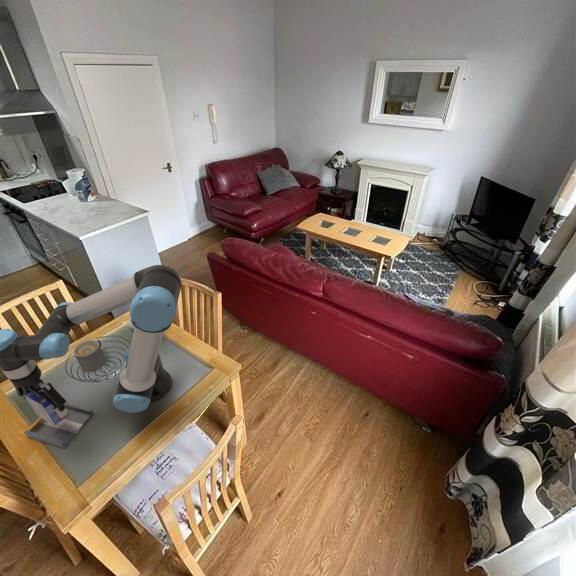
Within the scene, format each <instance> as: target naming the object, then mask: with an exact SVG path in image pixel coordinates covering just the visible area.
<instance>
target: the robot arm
mask: <svg viewBox="0 0 576 576" xmlns="http://www.w3.org/2000/svg"><path fill="white" fill-rule="evenodd" d="M182 284H183V283H182V279H181V276H180V274H179V273H178V272H177V270H176V269H174V268H172V267H171V266H168V265H167V264H156V265H151V266H148V267H144V268H142V269H140V270H138V271H136V272H135V273H133V276H132V277H130V278H127V279H125V280H123V281H120V282H118V283H116V284H114V285H112V286H109V287H106V288H104V289H102V290H100V291H97V292H96V293H93V294H91V295H89V296H86V297H83V298H81V299H78V300H77V301H75V302H71V301H68V302H66V301H63V302H61V303H59V304H58V305H57V306H56V307H54V309H53V310H52V311H51V313H50V315H49V316H48V317H47V318H46V320H45V321H44V323H43V324H42V325H41V327H40V328H39V329H38V330H37V332H36V333H35V334H29V335H19V334H18V333H17V332H16V331H15V330H13V329H10V328H1V329H0V370H1V371H2V373H3V374H4V375H5V376H6V379H7V378H8V380H9V381H10V383H11V384H12V386H13V387H14V388H15V390H16V393H17V395H18V396H19V397H22V398H23V399H25V400H27V399H26V397H25V396H24V395H25V394H26V395H27V394H28V393H29V392H30V391H33V392H34V393H35V394H36V395H38V396H39V395H41V396H42V397H43V398H44V399H46V400H47V401H48V402H49V403H51V404H52V405H53V409H54V410H55V411H56V413H57V414H58V416H59V417H60V418H63V417H64V416H65V415H66V414H67V412H68V411H67V409H66V408H65V406H64V405H63V404H64V403H65V402H67V400H66V399H65V398H64V397H63V396H62V395H61V394H60V392H58V391H57V390H56V388H55V387H54V386H53V385H52V382H51V383H50V382H47V383H45V382H44V381H43V379H41V376H42V370H41V369H40V367H39V365H38V364H37V363H36V362H35V361H38V360H39V361H40V360H52V359H56V358H58V359H59V358H63V357H64V356H66V355H67V354H68V352H69V349H70V348H69V347H70V344H71V343H70V342H71V341H70V339H69V337H68V335H69V333H70V332H71V330H72V329H73V328H75V327H77V326H79V325H82V324H83V323H86V322H89V321H91V320H93V319H96V318H98V317H101V316H103V315H105V314H107V313H108V314H109V313H111V312H113V311H115V310H117V309H120V308H122V307H125V306H128V305H129V304H130V306H129V315H130V317H131V323H132V324H133V326H134V327H135V328H134V333H132V339H131V343H130V346H129V347H128V348H127V349H126V350H125V352H124V354H123V358H124V361H125V362H126V363H125V367H124V368H123V369H122V370H121V373H120V375H119V378H118V383H117V387H116V391H115V394H114V395H113V400H112V405H113V406H114V408H116V409H117V410H119V411H121V412H124V413H140V412H143V411H145V410H147V409H148V408H149V405H150V403H153V402H156V401H159V400H161V399H163V398H164V397H165V396H166V395H168V393H169V392H170V390H171V388H172V386H173V380H172V379H173V378H172V376H171V374H170V373H169V372H168V371H167V370H166V369H165V368H164V366H163V362H162V358H161V355H160V353H159V352H160V348H161V344H162V342H163V338H164V334H165V332H166V331H168V330H170V328H171V326H172V324H173V320H174V318H175V317H176V313H177V307H178V304H179V303H178V302H179V298H180V295H181V290H182V286H183V285H182ZM130 317H129V318H130ZM41 389H42V390H41ZM40 390H41V391H40ZM38 391H40V392H38ZM27 402H28V400H27Z"/></svg>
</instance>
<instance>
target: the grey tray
mask: <svg viewBox="0 0 576 576" xmlns="http://www.w3.org/2000/svg"><path fill="white" fill-rule="evenodd" d="M63 405H64V406H65V408H66V409H67V411H68V413H69V415H68V416H67V417H66V418H64V419H63V420H62V421H61V422H59V423H58V424H57V425H56V426H55V425H53V424H51V423H50V422H48V421H46V420H44V419H43V418H41V417H39V416H38V418H37V419H36V420H35V421H34V422H33V423H32V424H31V425H30V426H29V427H28V428H27V429H26V430H25V431H24V432H23V433H24V435H25V436H26V437H27V438H29V439H32V440H37V441H39V442H41V443H42V442H43V443H45V444H49V445H52V446H55V447H58V448H62V449H65V448H66V447H67V446H68V445H69V444H70V443H71V441H72V440H73V439H74V438H75V437H76V435H77V434H78V433H79V432H80V431H81V430H82V428H83V427H84V426H85V425H86V424H87V422H89V420H91V418H92V417H93V416H94V414H95V413H94V411H93V410H92V409H91V408H87V407H85V406H81V405H77V404H74V403H71V402H67V401H66V402H65V403H64V404H63Z"/></svg>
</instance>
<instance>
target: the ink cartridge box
mask: <svg viewBox="0 0 576 576" xmlns="http://www.w3.org/2000/svg"><path fill="white" fill-rule="evenodd" d="M41 390H42V389H41ZM41 390H40V391H41ZM40 391H38V392H40ZM24 396H25V397H26V399H25V400H28V401H27V402H28V404H29V405H30V407H31V408H32V409H33V410H34V412H35V414H36V415H37V416H38V418H39V417H41V418H43V419H44V420H46V421H48V422H50V423H51V424H53V425H55V426H56V425H57V424H58V423H59V422H61V421H62V420H63V419H64V418H66V417H67V416H68V415H69V413H68V412H67V414H66V415H65V416H64V417H63V418H60V417H59V416H58V414H57V413H56V411H55V410H54V409H53V405H52V404H51V403H49V402H48V401H47V400H46V399H44V398H43V397H42V396H41V395H39V396H38V395H36V394H35V393H34V392H33V391H30V392H29V393H28V394H27V395H26V394H25V395H24Z"/></svg>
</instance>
